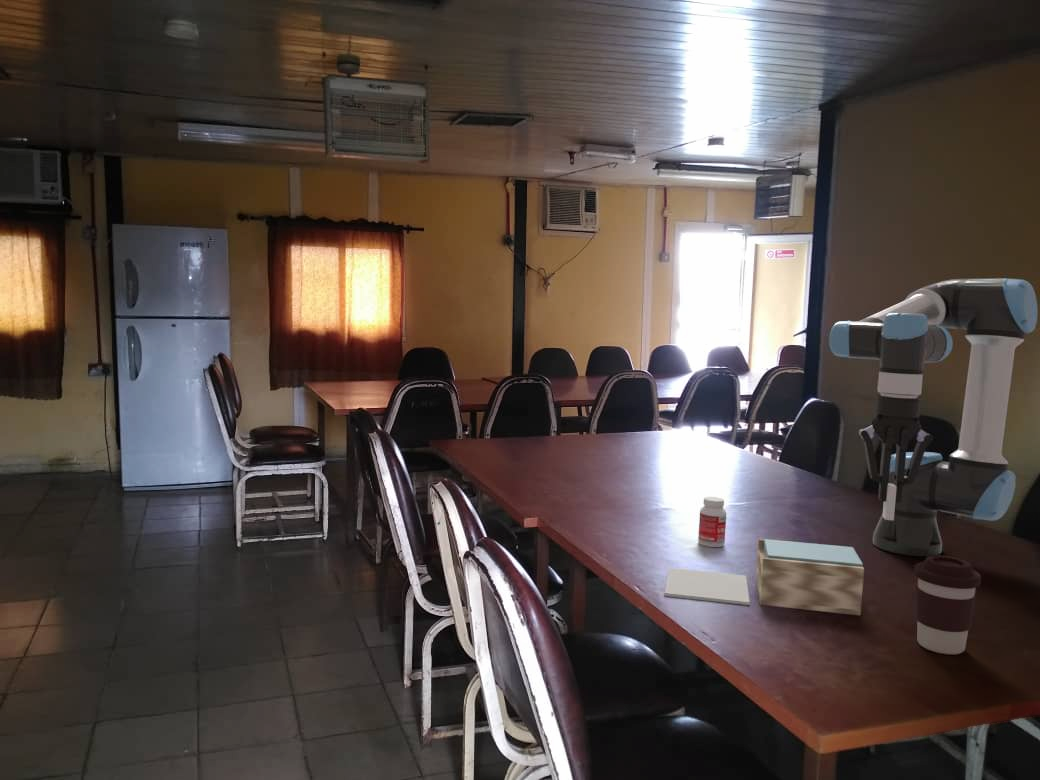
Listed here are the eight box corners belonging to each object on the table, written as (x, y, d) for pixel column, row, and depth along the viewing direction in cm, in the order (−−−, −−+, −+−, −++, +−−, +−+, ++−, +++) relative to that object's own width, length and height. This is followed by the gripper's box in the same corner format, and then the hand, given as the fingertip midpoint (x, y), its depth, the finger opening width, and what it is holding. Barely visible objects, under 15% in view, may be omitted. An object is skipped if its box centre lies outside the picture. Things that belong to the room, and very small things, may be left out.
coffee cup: (952, 635, 145) (960, 552, 144) (986, 659, 135) (995, 571, 134) (897, 634, 145) (904, 551, 143) (927, 658, 135) (935, 570, 133)
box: (848, 590, 167) (851, 547, 166) (860, 615, 153) (864, 568, 152) (756, 580, 171) (758, 538, 170) (760, 604, 157) (763, 558, 156)
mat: (745, 578, 172) (745, 575, 172) (749, 605, 156) (749, 602, 156) (668, 570, 176) (668, 567, 175) (664, 595, 160) (664, 593, 160)
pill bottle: (720, 549, 192) (723, 503, 190) (694, 545, 195) (697, 499, 193) (727, 543, 197) (730, 498, 196) (702, 539, 200) (705, 494, 199)
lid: (851, 558, 165) (852, 547, 164) (861, 576, 154) (862, 564, 153) (763, 550, 168) (764, 539, 168) (767, 567, 157) (768, 555, 157)
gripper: (931, 395, 157) (919, 516, 159) (858, 391, 159) (848, 510, 162) (941, 399, 149) (930, 526, 152) (865, 395, 152) (855, 519, 154)
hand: (887, 518), depth 157 cm, fingers closed
